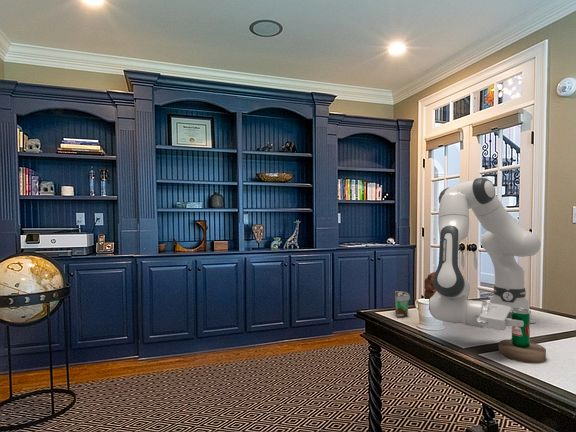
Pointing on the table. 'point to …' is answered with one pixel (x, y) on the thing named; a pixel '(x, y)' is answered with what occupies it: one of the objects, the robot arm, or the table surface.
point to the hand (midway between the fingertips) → (524, 320)
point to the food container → (401, 304)
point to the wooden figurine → (429, 286)
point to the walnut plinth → (522, 352)
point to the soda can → (521, 328)
